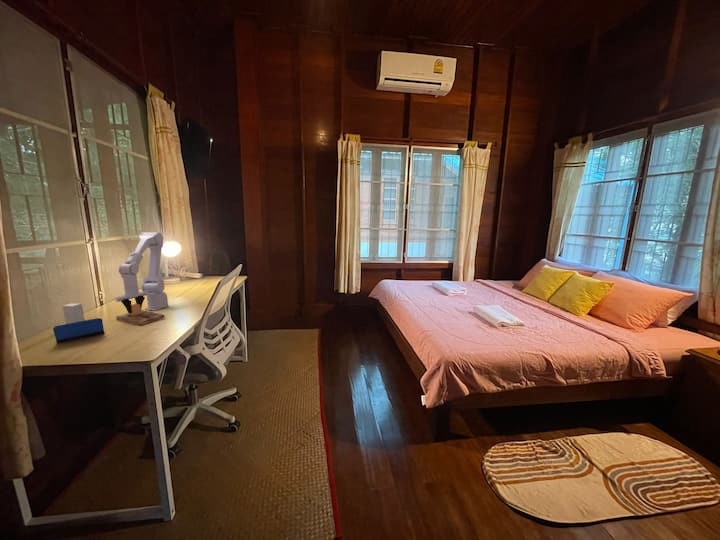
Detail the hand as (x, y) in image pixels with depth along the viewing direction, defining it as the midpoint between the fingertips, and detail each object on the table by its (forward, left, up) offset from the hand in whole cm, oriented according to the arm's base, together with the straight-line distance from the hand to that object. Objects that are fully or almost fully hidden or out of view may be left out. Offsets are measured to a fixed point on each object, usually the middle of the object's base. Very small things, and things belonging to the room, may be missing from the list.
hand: (134, 311), depth 160 cm
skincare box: (+21, -10, -4) cm, 23 cm away
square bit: (0, 0, -1) cm, 1 cm away
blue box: (+25, +6, -4) cm, 26 cm away
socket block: (0, +4, -4) cm, 6 cm away
